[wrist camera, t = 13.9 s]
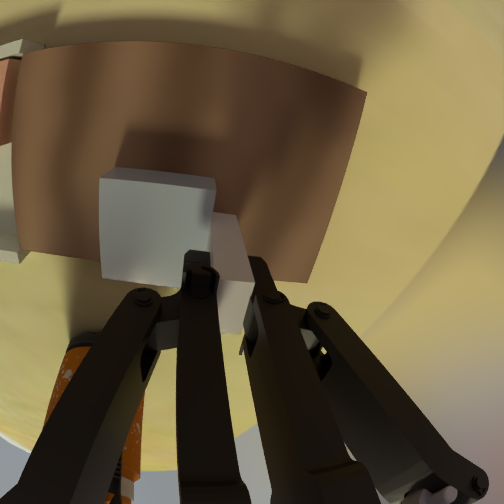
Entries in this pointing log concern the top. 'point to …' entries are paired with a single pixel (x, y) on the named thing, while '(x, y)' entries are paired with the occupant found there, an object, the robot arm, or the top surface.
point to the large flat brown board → (181, 141)
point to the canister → (131, 452)
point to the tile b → (152, 223)
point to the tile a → (7, 97)
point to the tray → (3, 216)
